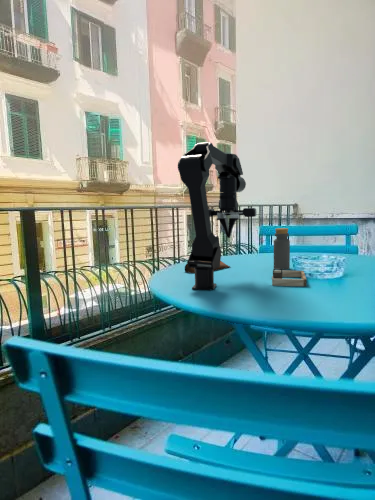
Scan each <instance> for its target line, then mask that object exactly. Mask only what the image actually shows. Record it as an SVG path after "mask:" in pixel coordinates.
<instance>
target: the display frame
mask: <svg viewBox="0 0 375 500" xmlns="http://www.w3.org/2000/svg"><path fill="white" fill-rule="evenodd" d="M274 273H281V270H274ZM307 282H308V281H307V277H306V274H305V271H304V270H282V279H273V278H272V277H271V285H272V286H276V287H281V286H282V287H307V286H308V285H307Z"/></svg>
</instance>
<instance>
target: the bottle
mask: <svg viewBox="0 0 375 500" xmlns="http://www.w3.org/2000/svg"><path fill="white" fill-rule="evenodd" d="M274 230H275V233H274V237H275V239H274V240H273V269H282V270H284V271H287V270H290V268H291V267H290V266H291V265H290V263H291V262H290V260H291V259H290V258H291V249H290V247H291V241H290V239H288V237H289V236H290V234H289V232H288V231H289V228H288V227H287V228H286V227H280V228H279V227H277V228H275V229H274Z"/></svg>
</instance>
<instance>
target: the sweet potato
mask: <svg viewBox="0 0 375 500" xmlns="http://www.w3.org/2000/svg"><path fill="white" fill-rule="evenodd" d="M199 262H203V261H199ZM229 267H230V268H231V266H229V265H228V264H226V263H225V262H223V261H221V260H220V267H219V268H216V269H214V272H216V271H219V270H223V269H224V268H225V269H229ZM215 270H216V271H215ZM184 272H185V273H189V274H195V268H188V264H187V263H186V264H185V266H184Z"/></svg>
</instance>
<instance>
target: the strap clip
mask: <svg viewBox="0 0 375 500" xmlns="http://www.w3.org/2000/svg"><path fill="white" fill-rule="evenodd" d="M274 270H281V273H274ZM272 278H273V279H283V277H282V269H274V268H273V269H272V276H271V279H272Z"/></svg>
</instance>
